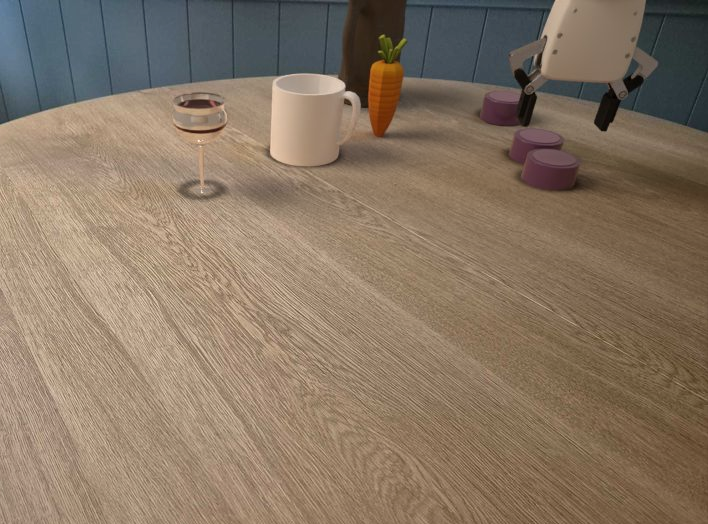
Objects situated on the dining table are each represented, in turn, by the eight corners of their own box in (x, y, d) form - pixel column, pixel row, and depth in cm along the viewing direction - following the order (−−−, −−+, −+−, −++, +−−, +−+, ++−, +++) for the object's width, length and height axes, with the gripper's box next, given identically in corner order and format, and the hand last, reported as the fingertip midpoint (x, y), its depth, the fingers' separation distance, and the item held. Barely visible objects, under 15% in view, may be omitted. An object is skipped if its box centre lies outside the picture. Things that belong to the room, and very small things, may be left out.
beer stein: (347, 84, 125) (357, -36, 111) (403, 92, 121) (420, -31, 108) (318, 114, 114) (325, -14, 101) (378, 123, 111) (393, -8, 97)
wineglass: (209, 178, 90) (207, 88, 83) (238, 196, 86) (238, 102, 79) (167, 190, 87) (160, 98, 80) (195, 209, 83) (191, 113, 75)
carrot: (397, 136, 104) (413, 32, 94) (389, 146, 100) (405, 40, 91) (366, 131, 105) (379, 29, 96) (357, 141, 102) (370, 36, 92)
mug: (259, 162, 95) (260, 89, 88) (284, 139, 102) (288, 70, 96) (342, 178, 91) (351, 102, 84) (363, 153, 98) (372, 81, 92)
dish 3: (565, 174, 92) (573, 149, 90) (579, 195, 87) (588, 168, 85) (515, 172, 93) (522, 146, 90) (526, 192, 87) (534, 166, 85)
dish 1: (517, 113, 113) (522, 90, 110) (526, 127, 107) (532, 103, 105) (476, 111, 113) (481, 89, 111) (483, 125, 108) (488, 102, 106)
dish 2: (550, 153, 98) (557, 128, 96) (562, 171, 93) (570, 145, 91) (503, 151, 99) (510, 126, 97) (513, 168, 94) (520, 143, 91)
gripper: (675, -28, 77) (620, 120, 87) (523, -34, 78) (487, 112, 89) (704, -16, 71) (641, 140, 81) (539, -24, 72) (498, 131, 83)
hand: (561, 125), depth 85 cm, fingers open, 9 cm apart
